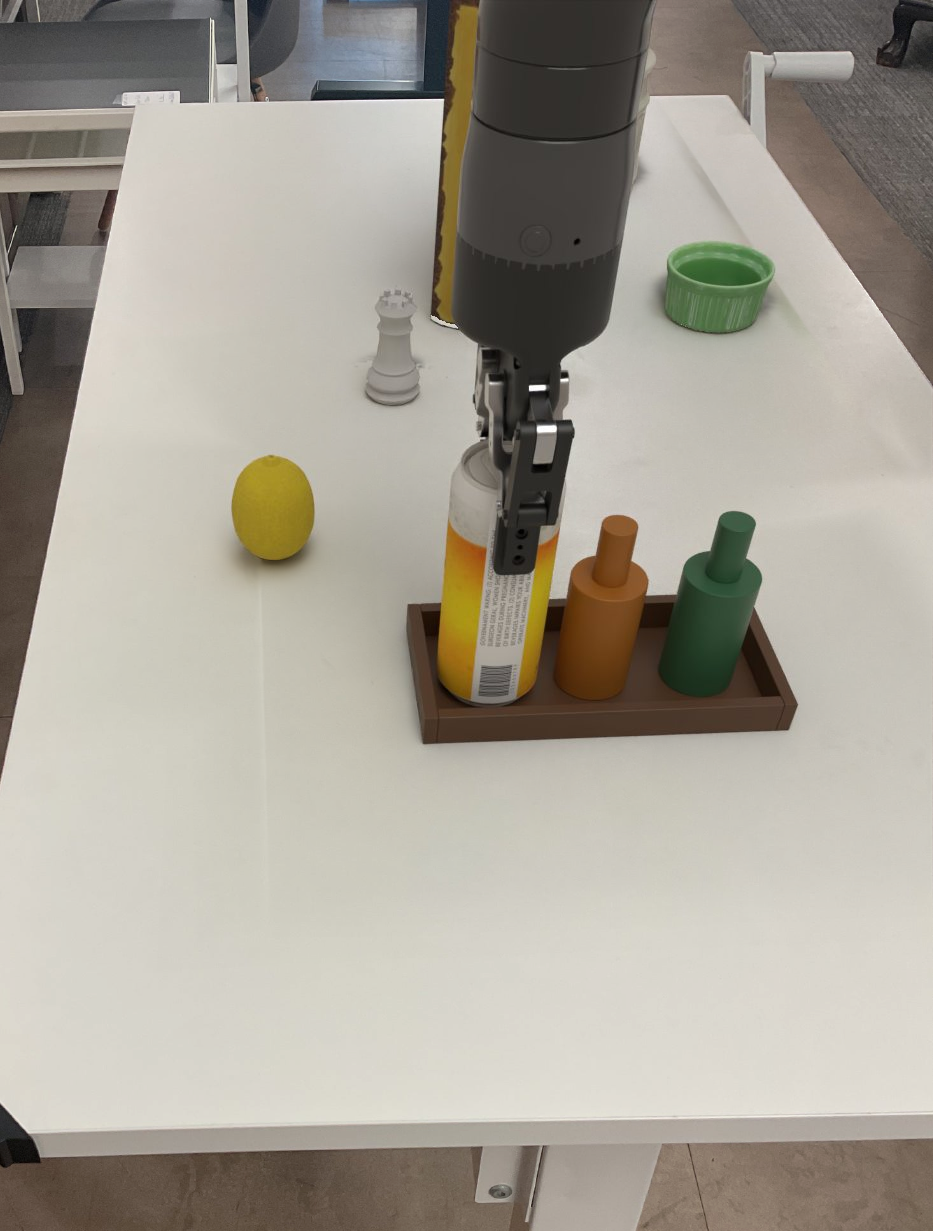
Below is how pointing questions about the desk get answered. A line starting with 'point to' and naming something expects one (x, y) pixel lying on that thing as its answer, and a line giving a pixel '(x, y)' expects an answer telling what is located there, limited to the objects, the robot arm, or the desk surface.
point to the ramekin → (716, 285)
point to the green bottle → (712, 611)
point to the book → (453, 146)
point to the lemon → (273, 507)
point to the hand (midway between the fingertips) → (503, 533)
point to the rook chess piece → (394, 351)
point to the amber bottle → (602, 615)
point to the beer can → (489, 594)
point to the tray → (635, 711)
